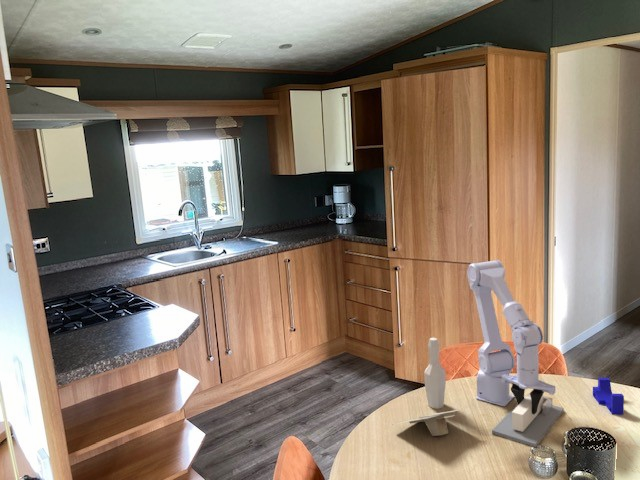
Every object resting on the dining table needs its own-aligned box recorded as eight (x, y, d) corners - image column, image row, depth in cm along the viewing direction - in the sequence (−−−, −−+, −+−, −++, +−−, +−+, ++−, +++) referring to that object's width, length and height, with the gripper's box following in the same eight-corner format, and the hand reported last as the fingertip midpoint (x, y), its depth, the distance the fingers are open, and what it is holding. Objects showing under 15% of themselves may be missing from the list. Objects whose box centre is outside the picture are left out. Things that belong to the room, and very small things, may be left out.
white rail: (512, 428, 146) (511, 412, 145) (533, 405, 157) (532, 389, 157) (522, 431, 144) (522, 415, 143) (543, 407, 155) (543, 392, 155)
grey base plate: (492, 433, 147) (491, 420, 146) (523, 400, 164) (523, 388, 163) (535, 447, 139) (535, 433, 138) (563, 411, 156) (563, 398, 155)
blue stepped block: (592, 395, 164) (592, 377, 163) (608, 395, 163) (608, 377, 162) (606, 415, 152) (606, 396, 151) (623, 415, 151) (623, 396, 150)
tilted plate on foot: (402, 454, 147) (433, 437, 137) (390, 424, 152) (419, 405, 141) (444, 442, 156) (476, 425, 146) (432, 414, 160) (462, 395, 150)
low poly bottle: (440, 411, 161) (437, 344, 157) (422, 406, 165) (419, 340, 161) (450, 403, 166) (447, 337, 162) (432, 398, 170) (429, 334, 166)
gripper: (496, 366, 150) (497, 409, 152) (549, 377, 140) (549, 424, 143) (506, 357, 155) (507, 400, 157) (557, 368, 145) (557, 413, 148)
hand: (528, 410), depth 150 cm, fingers closed on white rail, 3 cm apart
